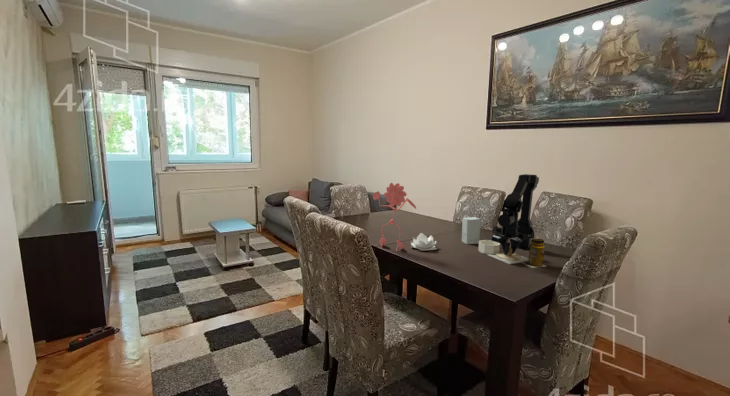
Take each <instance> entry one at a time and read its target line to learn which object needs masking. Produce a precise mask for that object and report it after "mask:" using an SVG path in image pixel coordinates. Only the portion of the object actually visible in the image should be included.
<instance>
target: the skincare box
mask: <svg viewBox="0 0 730 396" xmlns="http://www.w3.org/2000/svg"><path fill="white" fill-rule="evenodd" d="M461 224H462V225H461V226H462V227H461V242H462V243H464V244H465V245H477V244H478V245H479V241H480V240H481V238H480V235H481V219H480V218H479V217H476V216H474V217H473V216H472V217H462V223H461Z"/></svg>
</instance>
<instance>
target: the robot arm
mask: <svg viewBox="0 0 730 396" xmlns="http://www.w3.org/2000/svg"><path fill="white" fill-rule="evenodd" d="M517 178H518V180H517V182H516V184H515V186H514V188H513V190H512V192H511V193H509V194H507V196H506V198H505V199H504V200H503V201H502V206H501V208H500V212H501V213H502V214H500V215H499V216H498V218H497V222H498V225H500V227H499V226H498V225H496V226H493V227H492V233H493V235H492V236H491V241H495V242H498V243H500V246H501V248H502V252H504V255H507V253H508V250H509V247H510V248H512V254H514V253H515V252H516V250H517V249H520V250H530V244H531V240H532V239H535V233H536V232H535V230H534V227H533V224H534V223H533V222H532V220H531V211H532V203H533V196H534V195H533V194H534V193H533V192H534V191H535V190H536V188H538V184H539V181H540V176H539V177H538V176H537V174H528V173H524V174H519V175H518V177H517ZM519 213H520V217H519Z"/></svg>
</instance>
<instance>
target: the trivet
mask: <svg viewBox="0 0 730 396" xmlns="http://www.w3.org/2000/svg"><path fill="white" fill-rule="evenodd" d="M486 255H487V256H489V257H491V258H494V259H496V260H499V261H501V262H503V263H505V264H508V265H513V264H514V265H515V264H519V263H521V262H529V257H525V256H522V255H521V256H522V259H521V260H517V261H511V260H504V259H501V258H498V257H497V256H496V254H486Z"/></svg>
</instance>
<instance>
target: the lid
mask: <svg viewBox="0 0 730 396" xmlns="http://www.w3.org/2000/svg"><path fill="white" fill-rule="evenodd" d="M496 256H497V257H498V258H501V259H504V260H511V261H517V260H521V259H522V255H521V254H518V253H515V252H514V254H512V248H511V246H510V247H509V250H508V253H507V255H504V252H503V251H500V252H497V253H496Z"/></svg>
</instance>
